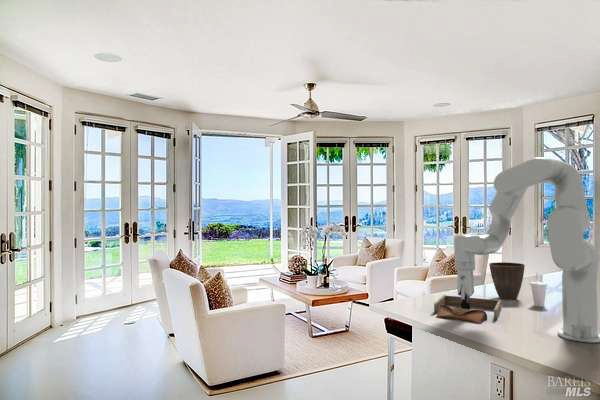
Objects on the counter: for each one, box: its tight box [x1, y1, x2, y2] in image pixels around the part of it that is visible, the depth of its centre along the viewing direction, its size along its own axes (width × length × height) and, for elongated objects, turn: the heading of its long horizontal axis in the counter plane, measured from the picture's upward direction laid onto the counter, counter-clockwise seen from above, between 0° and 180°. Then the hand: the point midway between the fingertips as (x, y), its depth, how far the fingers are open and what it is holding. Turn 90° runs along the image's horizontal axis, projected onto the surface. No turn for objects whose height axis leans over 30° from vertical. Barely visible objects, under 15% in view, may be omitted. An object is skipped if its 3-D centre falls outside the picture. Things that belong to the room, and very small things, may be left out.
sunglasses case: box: [434, 305, 488, 325], centre depth 163 cm, size 18×7×7 cm
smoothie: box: [530, 272, 548, 307], centre depth 182 cm, size 6×6×14 cm
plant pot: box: [488, 261, 525, 301], centre depth 198 cm, size 15×15×16 cm
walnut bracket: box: [433, 294, 502, 322], centre depth 173 cm, size 19×23×4 cm
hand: (465, 312), depth 167 cm, fingers closed
